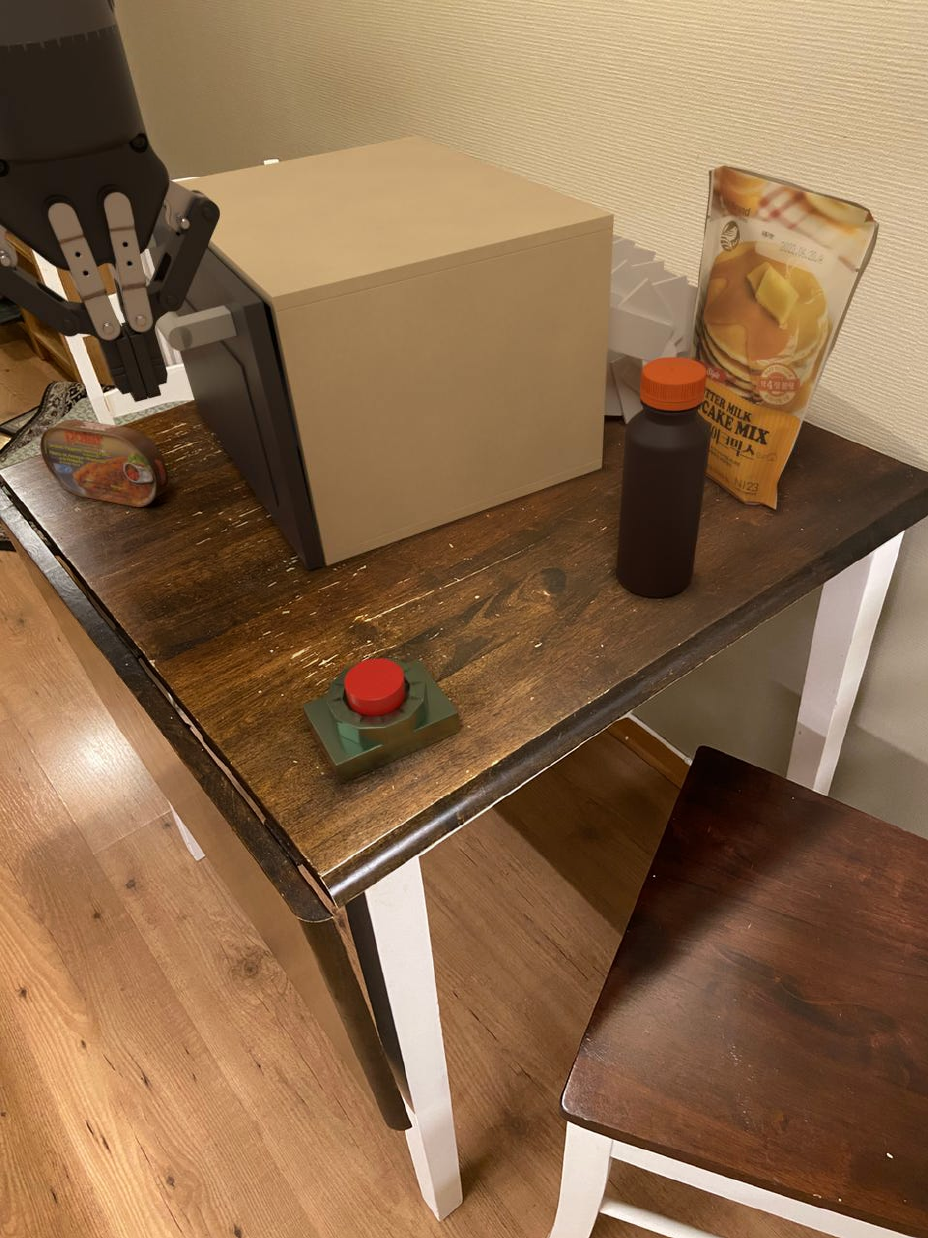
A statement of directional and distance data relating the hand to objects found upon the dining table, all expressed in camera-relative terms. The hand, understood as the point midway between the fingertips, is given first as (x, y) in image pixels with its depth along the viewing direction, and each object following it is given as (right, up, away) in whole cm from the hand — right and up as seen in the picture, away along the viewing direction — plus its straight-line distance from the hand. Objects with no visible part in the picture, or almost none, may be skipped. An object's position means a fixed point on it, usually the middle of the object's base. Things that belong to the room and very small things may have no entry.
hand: (144, 393), depth 49 cm
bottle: (+35, -9, +31) cm, 48 cm away
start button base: (+12, -21, +19) cm, 31 cm away
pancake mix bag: (+46, +3, +44) cm, 64 cm away
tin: (-20, +1, +48) cm, 52 cm away
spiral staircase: (+35, +16, +60) cm, 71 cm away
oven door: (-8, +2, +48) cm, 49 cm away
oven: (+9, +9, +54) cm, 56 cm away
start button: (+11, -18, +17) cm, 27 cm away
